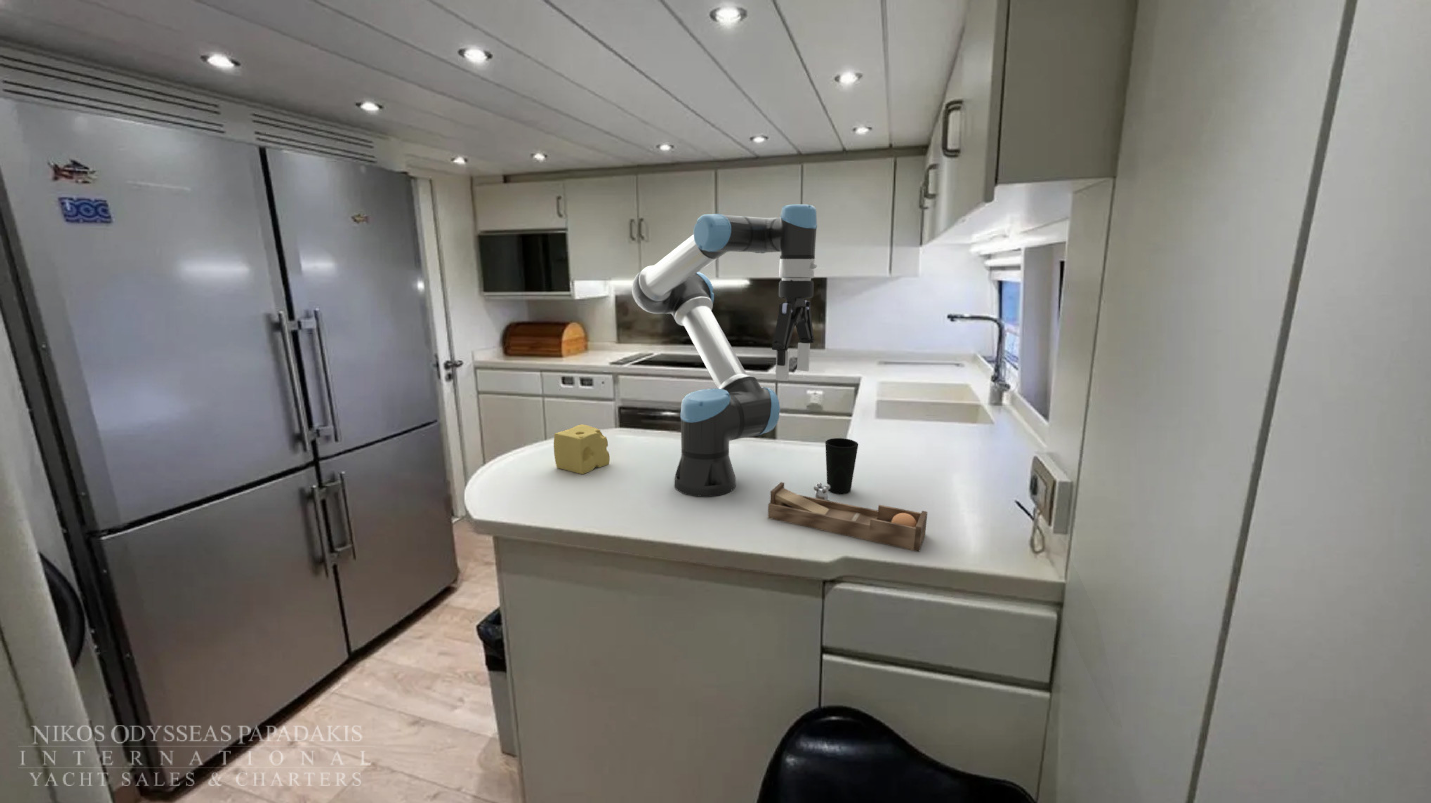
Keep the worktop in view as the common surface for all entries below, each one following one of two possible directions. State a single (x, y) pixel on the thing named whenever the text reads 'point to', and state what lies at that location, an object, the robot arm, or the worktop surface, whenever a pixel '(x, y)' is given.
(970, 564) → the worktop surface
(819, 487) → the silver knobbed handle
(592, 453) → the cheese
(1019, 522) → the worktop surface
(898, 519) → the ball
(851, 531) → the lane
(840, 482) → the cup
